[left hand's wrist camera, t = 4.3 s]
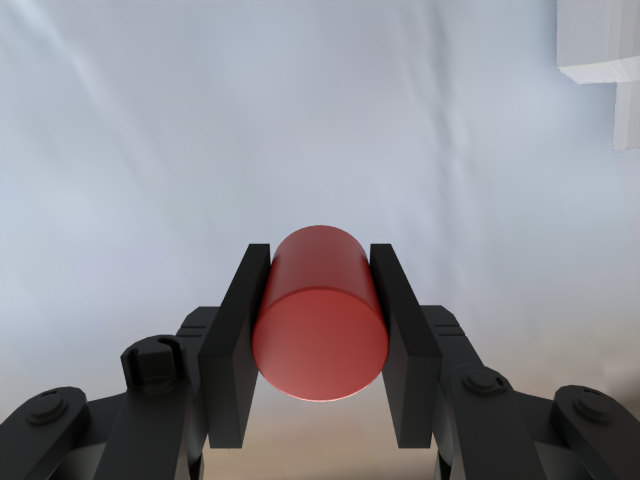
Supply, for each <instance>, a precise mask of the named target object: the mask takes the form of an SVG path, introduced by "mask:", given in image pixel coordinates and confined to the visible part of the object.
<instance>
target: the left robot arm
mask: <svg viewBox="0 0 640 480" xmlns="http://www.w3.org/2000/svg"><path fill="white" fill-rule="evenodd" d="M270 267H271V261H270V244H249V246H248V248H247V250H246V252H245V255H244V257H243V259H242V261H241V263H240V265H239V267H238V270H237V272H236V274H235V276H234V278H233V280H232V282H231V284H230V287H229V289H228V291H227V293H226V295H225V297H224V299H223V302H222V304H221V306H220V307H198V308H197V309H195V310H194V311H193V312H191V313H190V314H189V315H187V317H186V318H185V320H184V322H183V323H182V325H181V329H179V330H178V332H177V333H176V335H175V336H174V335H156V336H151V337H147V338H145V339H142V340H140V341H138V342H135V343H134V344H133V345H131V346H130V347H128V348H127V349H126V350H125V351H124V353H123V354H122V355H121V356H120V358H121V362H122V366H123V371H124V375H125V379H126V384H127V391H126V392H125V393H122V394H118V395H115V396H111V397H107V398H102V399H98V400H93V401H89V402H87V398H86V395H85V393H84V392H83V391H82V390H81V389H79V388H75V387H60V388H55V389H52V390H48V391H45V392H42V393H40V394H38V395H36V396H35V397H33V398H31V399H29V400H27V401H26V402H25V403H24V404H22V405H21V406H20V407H18V408H17V409H16V410H15V411H14V412H13V413H12V414H11V415H10V416H9V417H8V418H7V419H6V420H5V421H4V422H3V423H2V424H1V425H0V480H203V473H204V460H203V453H202V449H203V446H204V443H205V440H206V437H207V434H208V436H209V443H210V448H242V444H243V439H244V435H245V430H246V426H247V421H248V417H249V412H250V408H251V403H252V399H253V394H254V389H255V385H256V380H257V376H258V371H259V369H258V368H257V366H256V363H255V361H254V358H253V355H252V349H251V336H252V331H253V327H254V324H255V320H256V317H257V313H258V310H259V306H260V303H261V299H262V295H263V292H264V288H265V285H266V281H267V278H268V274H269V271H270ZM370 270H371V273H372V277H373V280H374V284H375V287H376V291H377V294H378V298H379V301H380V305H381V308H382V312H383V316H384V319H385V323H386V326H387V330H388V333H389V352H388V357H387V360H386V362H385V365H384V367H383V368H382V375H383V379H384V384H385V388H386V393H387V397H388V402H389V406H390V411H391V416H392V420H393V425H394V429H395V434H396V438H397V443H398V447H399V448H430V445H431V438H432V431H433V434H434V437H435V440H436V443H437V446H438V453H437V460H436V466H435V473H434V479H433V480H640V422H639V421H638V420H637V419H636V418H635V417H634V416H633V415H632V414H631V413H630V412H629V411H628V410H627V409H626V408H625V407H623V406H622V405H621V404H619V403H618V402H617V401H616V400H614V399H613V398H611V397H609V396H608V395H606V394H604V393H602V392H600V391H598V390H594V389H591V388H588V387H585V386H577V385H568V386H563V387H561V388H559V389H558V390H557V391H556V392H555V396H554V400H549V399H545V398H541V397H536V396H532V395H527V394H524V393H521V392H517V391H515V390H513V388H512V386H511V385H510V383H509V382H508V380H507V379H506V378H505V377H503V376H502V375H501V374H500V373H498V372H497V371H495V370H492V369H490V368H488V367H486V366H484V365H483V363H482V361H481V360H480V358H479V356H478V355H477V353H476V351H475V350H474V348H473V346H472V345H471V343H470V341H469V340H468V338H467V336H465V333H464V331H463V330H462V328H461V327H460V325H459V323H458V321H457V320H456V318H455V316H454V315H453V314H452V313H451V312H449V311H448V310H447V309H445V308H444V307H443V306H441V305H419V303H418V301H417V299H416V297H415V295H414V292H413V290H412V288H411V286H410V284H409V282H408V280H407V277H406V275H405V273H404V271H403V269H402V267H401V265H400V263H399V260H398V258H397V256H396V254H395V252H394V250H393V248H392V245H391V244H371V246H370Z"/></svg>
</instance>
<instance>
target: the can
mask: <svg viewBox="0 0 640 480" xmlns="http://www.w3.org/2000/svg"><path fill="white" fill-rule="evenodd" d="M251 349H252V355H253V358H254V361H255V363H256V366H257V368H258V369H259V371H260V373H261V374H262V375H263V377H264V378H265V379H266V380H267V381H268V382H269V383H270V384H271V385H272V386H274V387H275V388H277V389H278V390H280V391H282V392H283V393H285V394H287V395H290V396H292V397H295V398H299V399H302V400H308V401H333V400H338V399H342V398H345V397H348V396H351V395H353V394H355V393H357V392H359V391H361V390H362V389H364V388H365V387H367V386H368V385H369V384H370V383H371V382H372V381H373V380H374V379H375V378H376V377H377V376H378V375H379V373H380V372H381V370H382V368H383V367H384V365H385V362H386V360H387V357H388V352H389V333H388V330H387V326H386V323H385V319H384V316H383V312H382V308H381V305H380V301H379V298H378V294H377V291H376V287H375V284H374V280H373V277H372V273H371V270H370V266H369V262H368V259H367V256H366V253H365V251H364V249H363V248H362V246H361V245H360V243H359V242H358V241H357V240H356V239H355V238H354V237H353V236H351V235H350V234H348V233H347V232H345V231H343V230H341V229H338V228H335V227H331V226H324V225H316V226H309V227H305V228H302V229H300V230H297V231H295V232H294V233H292V234H290V235H289V236H288V237H287V238H285V239H284V241H283V242H282V243H281V244H280V245H279V247H278V248H277V250H276V252H275V254H274V257H273V260H272V264H271V267H270V271H269V274H268V278H267V281H266V285H265V288H264V292H263V295H262V299H261V303H260V306H259V310H258V313H257V317H256V320H255V324H254V327H253V331H252V336H251Z"/></svg>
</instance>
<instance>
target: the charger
mask: <svg viewBox="0 0 640 480" xmlns="http://www.w3.org/2000/svg"><path fill="white" fill-rule="evenodd" d="M556 68H557V69H558V70H560V71H561V72H562V73H564V74H565V75H566V76H567V77H569V78H570V79H571V80H572V81H574V82H575V83H576V84H591V83H615V82H617V88H616V102H615V117H614V131H613V146H612V150H627V149H637V148H640V0H557V45H556Z"/></svg>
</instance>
